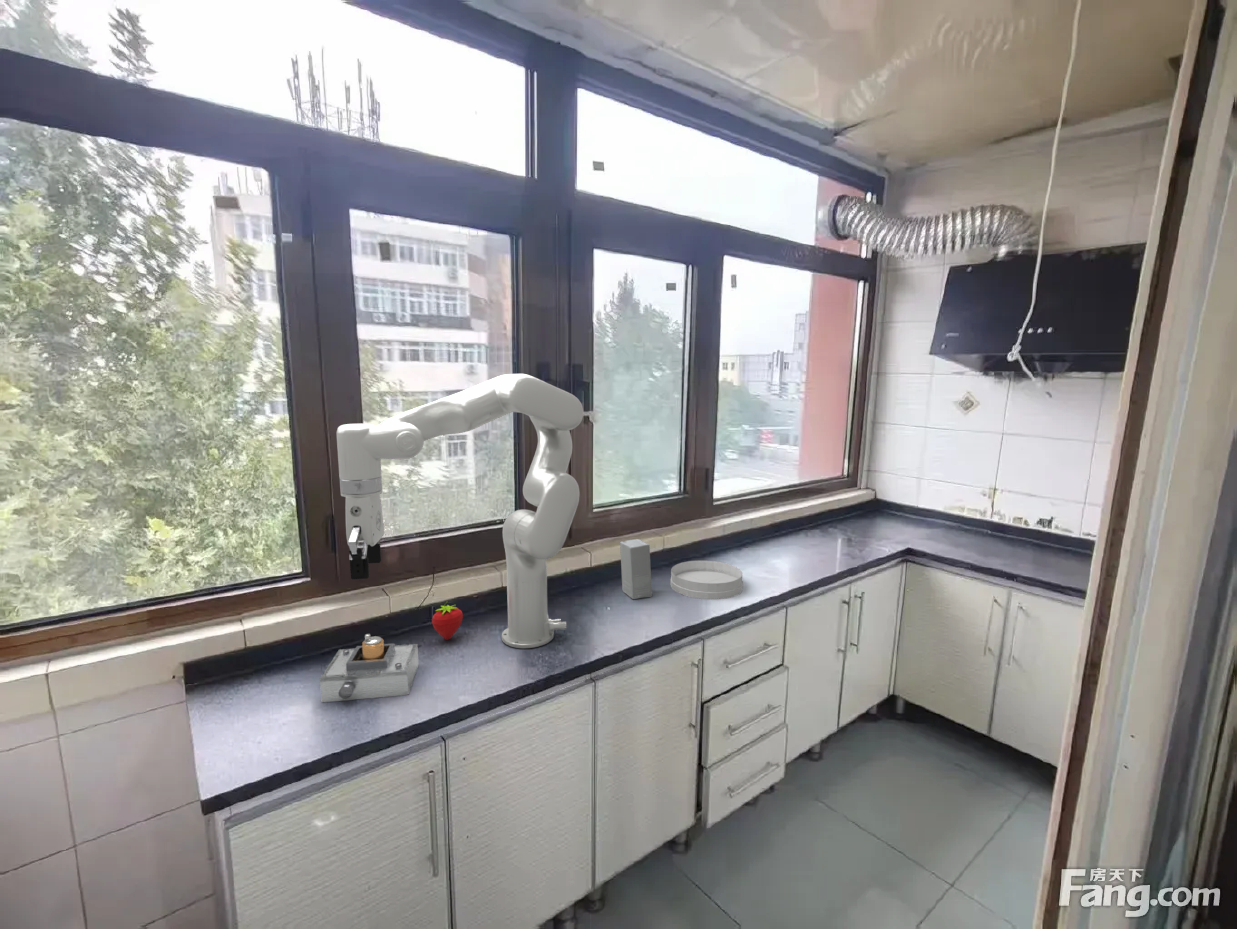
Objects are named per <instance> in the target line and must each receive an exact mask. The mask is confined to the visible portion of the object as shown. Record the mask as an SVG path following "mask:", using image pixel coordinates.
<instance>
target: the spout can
mask: <svg viewBox="0 0 1237 929" xmlns="http://www.w3.org/2000/svg"><path fill="white" fill-rule="evenodd" d="M384 642H385V641H384V639H383V638H382V637H381V636H376V635H375V636H371V633H366V634H364V640H363V641H362V643H361V644H362V645H361V646H362V648H363V660H376V659H384V644H385V643H384Z"/></svg>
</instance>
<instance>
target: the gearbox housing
mask: <svg viewBox="0 0 1237 929" xmlns="http://www.w3.org/2000/svg"><path fill="white" fill-rule="evenodd" d="M418 647H419V646H418V643H413V644H412V643H411V644H401V645H400V644H399V645H397V644H395V643H384V659H376V660H363V648H362V645H356V647H355V648H343V649H341V648H340V649H338V651H337V652H336V653H335V655H334V656H333V658H332V660H331V661H330V663H328V666H327V667H326V668H325V670H324V671H323V673H322V674H321V676H320V677H319V684H320V685H319V686H320V696H321V698H320V699H321V700H320V701H321V703H331V702H339V701H340V702H341V701H352V700H354V701H355V700H365V699H375V698H378V699H379V698H387V697H398V696H399V697H400V696H409V693H410V691H411V688H412V685H413V682H414V680H415V676H416V673H417V671H418V667H419V666H420V664H419V648H418Z"/></svg>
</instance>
